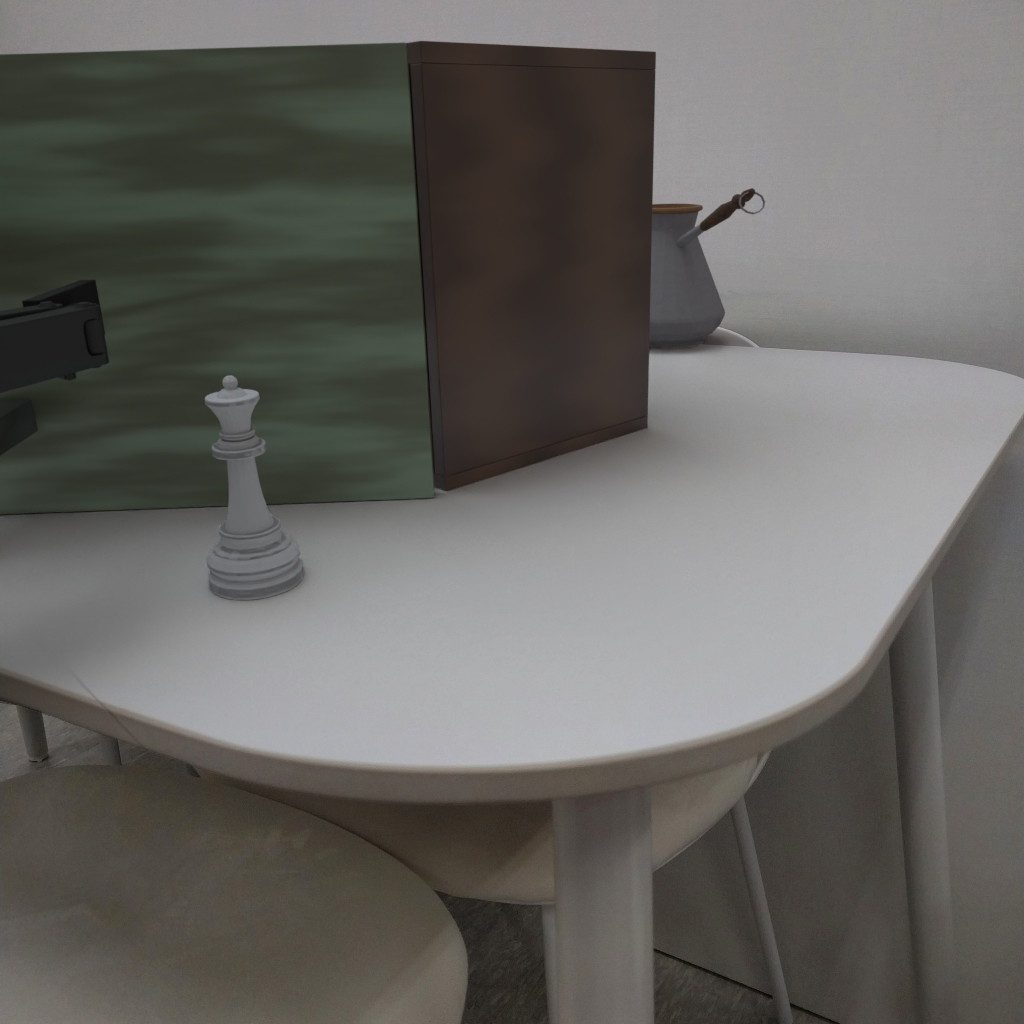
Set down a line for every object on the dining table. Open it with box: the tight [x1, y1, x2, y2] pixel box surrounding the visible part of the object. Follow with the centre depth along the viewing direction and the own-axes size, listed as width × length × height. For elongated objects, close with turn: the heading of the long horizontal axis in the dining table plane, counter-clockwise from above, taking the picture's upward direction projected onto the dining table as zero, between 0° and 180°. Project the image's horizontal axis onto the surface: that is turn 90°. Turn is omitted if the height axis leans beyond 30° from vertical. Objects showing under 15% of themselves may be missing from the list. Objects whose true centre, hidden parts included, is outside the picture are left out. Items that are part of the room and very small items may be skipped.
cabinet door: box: [0, 41, 436, 515], centre depth 49 cm, size 8×26×24 cm, turn 92°
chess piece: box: [205, 375, 305, 601], centre depth 44 cm, size 4×4×10 cm
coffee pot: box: [649, 188, 766, 350], centre depth 89 cm, size 21×12×15 cm, turn 17°
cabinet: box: [405, 40, 657, 493], centre depth 67 cm, size 18×26×24 cm
